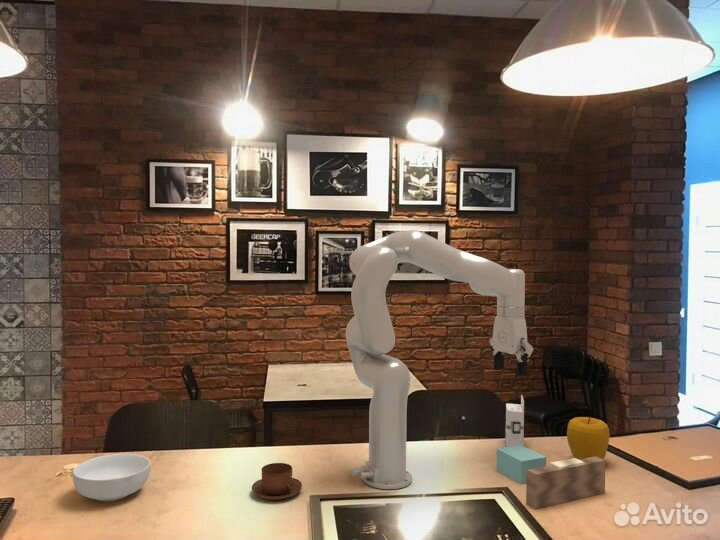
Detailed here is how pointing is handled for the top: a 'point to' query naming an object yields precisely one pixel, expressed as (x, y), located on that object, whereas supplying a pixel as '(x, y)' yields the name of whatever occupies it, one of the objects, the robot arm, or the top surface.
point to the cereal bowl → (111, 476)
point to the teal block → (518, 462)
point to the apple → (588, 437)
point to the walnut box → (565, 481)
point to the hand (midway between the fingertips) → (510, 372)
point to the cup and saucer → (276, 482)
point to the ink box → (515, 424)
